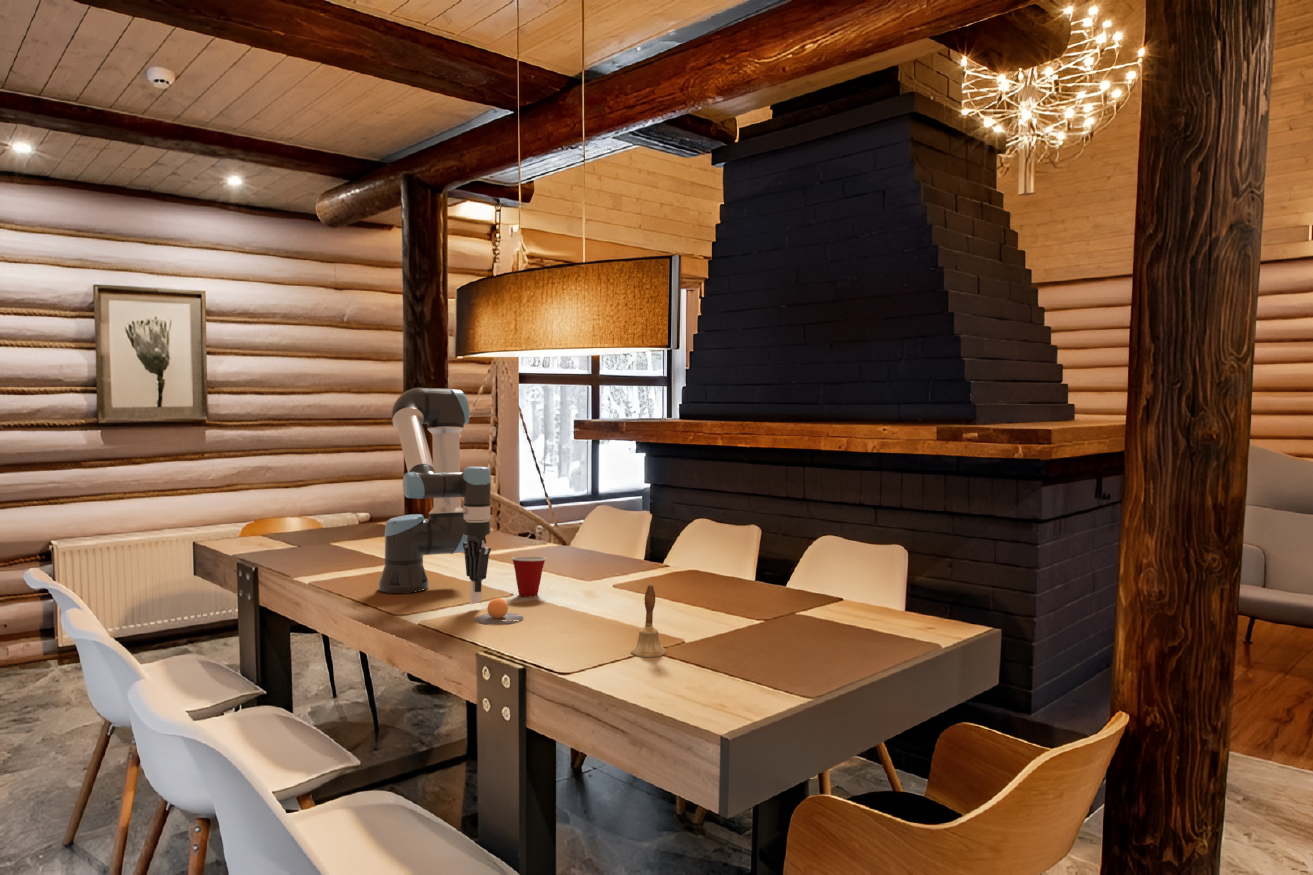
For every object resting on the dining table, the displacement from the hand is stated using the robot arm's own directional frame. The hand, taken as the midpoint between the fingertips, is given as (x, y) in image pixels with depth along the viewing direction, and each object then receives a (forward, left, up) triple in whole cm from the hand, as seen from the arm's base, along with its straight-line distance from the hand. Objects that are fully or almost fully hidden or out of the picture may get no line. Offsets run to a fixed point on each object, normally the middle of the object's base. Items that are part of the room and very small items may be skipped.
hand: (475, 602), depth 232 cm
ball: (+13, 0, +1) cm, 13 cm away
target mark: (+14, 0, -2) cm, 14 cm away
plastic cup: (-8, +22, -2) cm, 24 cm away
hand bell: (+63, +13, -2) cm, 64 cm away
